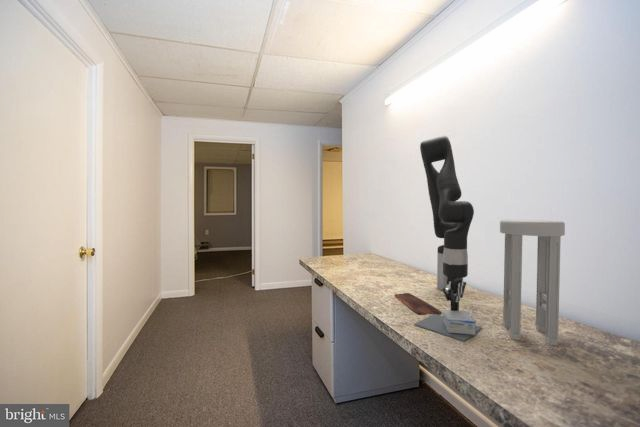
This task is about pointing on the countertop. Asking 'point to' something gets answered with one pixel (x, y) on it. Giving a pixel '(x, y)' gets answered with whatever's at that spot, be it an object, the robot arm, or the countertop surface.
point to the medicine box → (459, 322)
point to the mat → (442, 327)
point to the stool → (546, 275)
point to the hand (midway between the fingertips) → (454, 312)
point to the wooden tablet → (417, 304)
